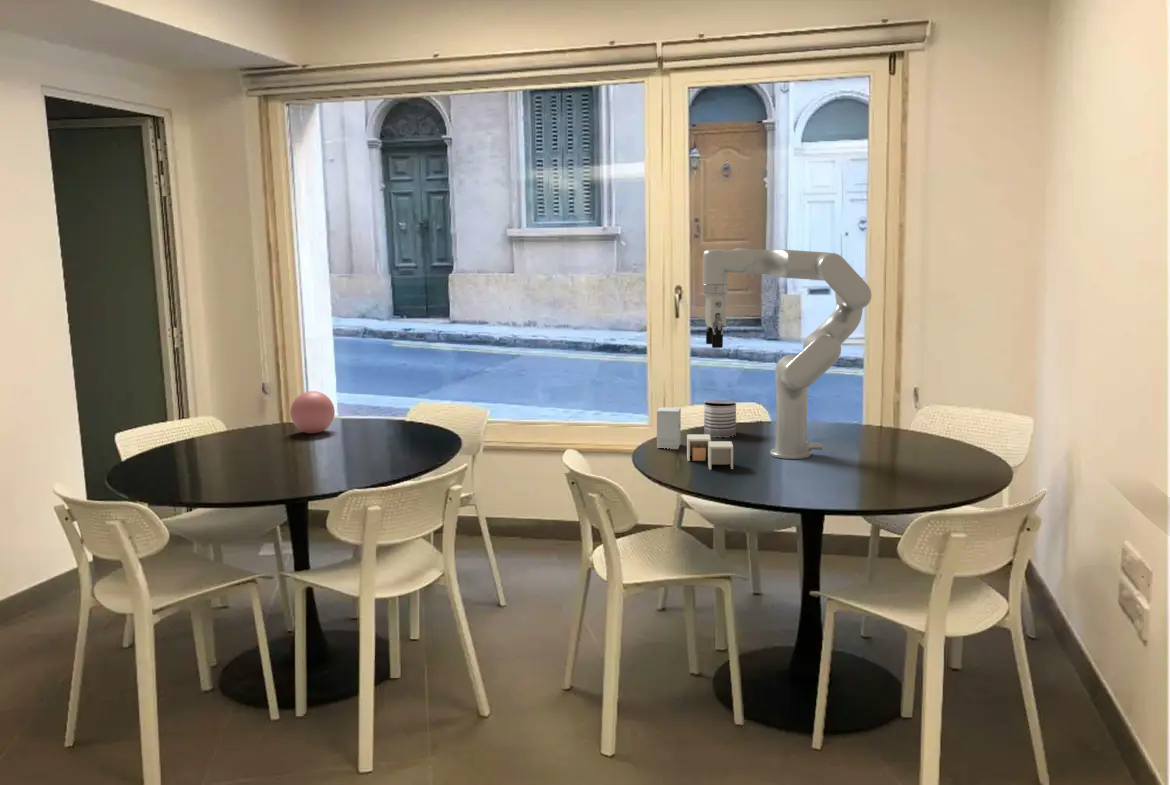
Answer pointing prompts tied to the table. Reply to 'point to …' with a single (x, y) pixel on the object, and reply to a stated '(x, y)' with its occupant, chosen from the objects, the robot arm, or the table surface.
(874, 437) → the table surface
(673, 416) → the supplement box
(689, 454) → the large plain cream block
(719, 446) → the plain off-white cube
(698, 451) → the letter cube
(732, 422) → the can
